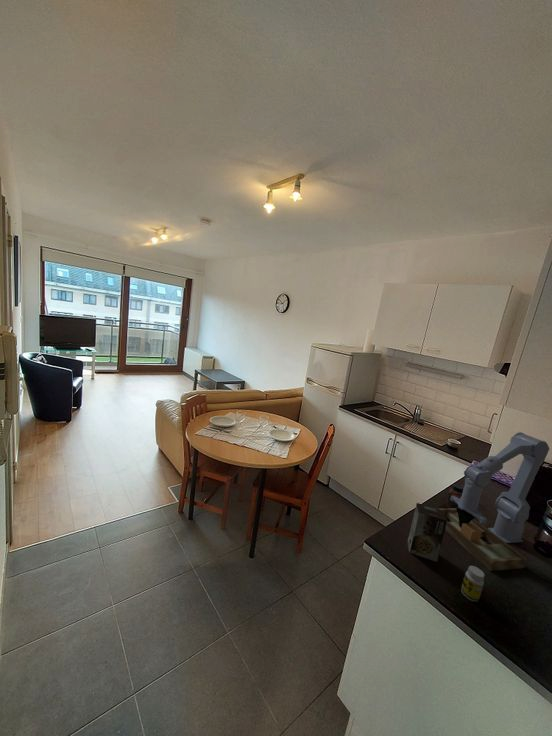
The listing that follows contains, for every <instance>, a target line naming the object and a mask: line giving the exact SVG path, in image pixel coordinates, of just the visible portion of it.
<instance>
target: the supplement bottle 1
mask: <svg viewBox="0 0 552 736" xmlns="http://www.w3.org/2000/svg"><path fill="white" fill-rule="evenodd" d="M463 489H464V486H462V485H460V484H457V483H454V484H453V485H452V487H450V488H449V491H448V495H447V499H446V503H445V506H446V508H459V507H458V504H456V503H455V502H454V501H451V500H450V498H451V496H456V497H458V498H459V499H461V497H462V493H463Z"/></svg>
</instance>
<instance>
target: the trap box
mask: <svg viewBox="0 0 552 736" xmlns="http://www.w3.org/2000/svg"><path fill="white" fill-rule="evenodd" d="M437 509H440V510H443V511H444V514H445V516H446V519H447V524H446V528H445V532H446V533H448V534H449V536H451V537H452V538H453V539H454V540H455V541H457V543H458V544H459V545H461V547H463V548H464V549H465V550H466V551H467V552H468V553H469V554H470V555H472V556H473V557H474V559H476V560H477V561H478V562H479V563H481V565H483V566H484V567H485V568H486V569H487V570H488V571H489V572H493V571H494V572H495V571H496V572H497V571H507V570H517V569H524V568H525V566H526V563H527V561H528V558H527V557H526V556H524V554H521V553H520V552H519V551H517V550H516V549H514V548H513V546H511V545H510V544H509V543H506V542H504V541H503V540H502V539H500V538H499V537H498V536H496V535H495V534H494V533H492V532H491V531H490V530H488V528H487V527H486V526H485V525H483V524H481V523H480V522H479V520H478V519H476V518H474V519H473V520H472V521H471V522H470V523H472V524H473V525H475V526H476V527H477V528H478V529H480V530H481V531H482V533H481V536H480V540H479V541H471V540H469V539H468V538H467V537H466V536H465V535H464V534H462V533H461V532H460V531H461V527H459V517H458V513H457V510H456V509H457V508H448V507H446V508H444V507H443V508H437ZM448 520H449V521H448ZM481 538H484V539H485V540H486V541H488V542H489V544H488V543H486V542H485V541H484V540H483V539H481Z"/></svg>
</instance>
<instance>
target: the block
mask: <svg viewBox="0 0 552 736" xmlns="http://www.w3.org/2000/svg"><path fill="white" fill-rule="evenodd" d="M460 532H461V533H462V534H464V535H465V536H466V537H467V538H468V539H469V540H471V541H479V540H480V539H481V537H480V536H481V533H482V531H481V530H480V529H478V528H477V527H476V526H475V525H473V524H472V523H463V524H462V527H461V531H460Z"/></svg>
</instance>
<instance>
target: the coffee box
mask: <svg viewBox="0 0 552 736" xmlns="http://www.w3.org/2000/svg"><path fill="white" fill-rule="evenodd" d="M447 521H448V519H447V518H446V516H445V514H444V511H443V510H440V509H438V508H436V507H433V506H429V505H425V504H423V503H419V502H416V505H415V509H414V514H413V517H412V521H411V525H410V530H409V534H408V537H407V547H408V551H409V552H408V553H410V554H413V555H415V556H418V557H421V558H423V559H424V558H425V559H427V560H430V561H432V562H435V563H436V562H437V563H438V559H439V555H440V552H441V546H442V543H443V539H444V536H445V532H446V531H445V528H446V524H447Z"/></svg>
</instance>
